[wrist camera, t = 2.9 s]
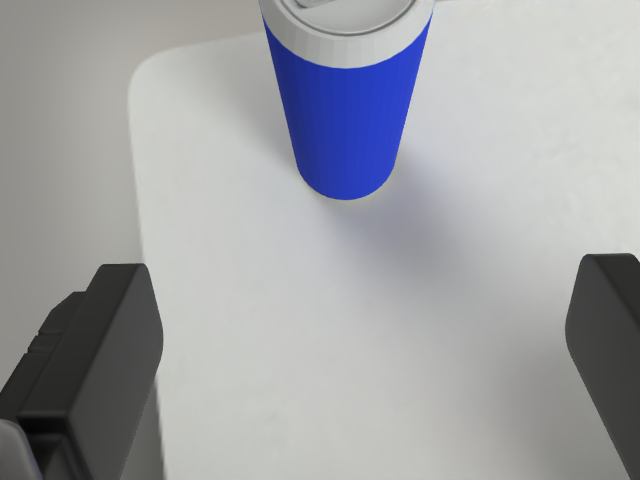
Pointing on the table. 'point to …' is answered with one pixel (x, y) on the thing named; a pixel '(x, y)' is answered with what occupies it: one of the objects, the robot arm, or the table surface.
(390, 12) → the beverage can
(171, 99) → the table surface
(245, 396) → the table surface
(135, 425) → the robot arm
